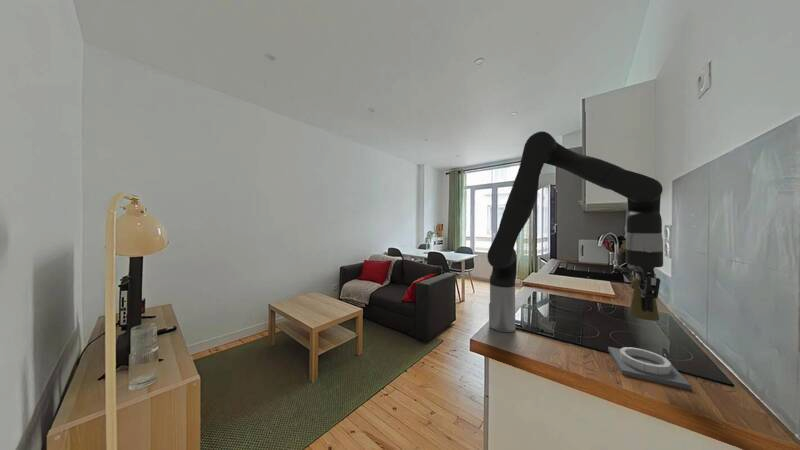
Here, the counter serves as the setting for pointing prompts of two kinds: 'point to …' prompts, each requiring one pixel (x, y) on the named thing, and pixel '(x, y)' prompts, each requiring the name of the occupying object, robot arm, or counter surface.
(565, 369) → the counter surface
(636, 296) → the cork
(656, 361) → the stand
